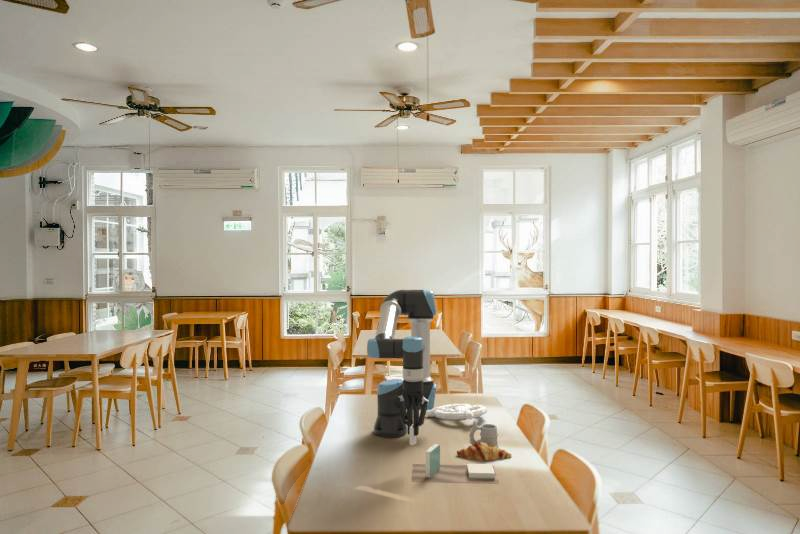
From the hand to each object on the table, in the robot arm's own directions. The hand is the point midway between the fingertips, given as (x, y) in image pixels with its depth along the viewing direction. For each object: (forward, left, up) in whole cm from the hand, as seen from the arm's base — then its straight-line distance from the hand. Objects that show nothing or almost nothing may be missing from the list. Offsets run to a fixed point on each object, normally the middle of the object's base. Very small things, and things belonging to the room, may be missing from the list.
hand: (413, 443), depth 181 cm
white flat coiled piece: (-65, +20, -11) cm, 69 cm away
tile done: (+3, +24, -9) cm, 26 cm away
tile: (+3, +7, -9) cm, 12 cm away
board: (+3, +15, -11) cm, 18 cm away
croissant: (-13, +27, -11) cm, 32 cm away
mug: (-23, +28, -11) cm, 38 cm away
